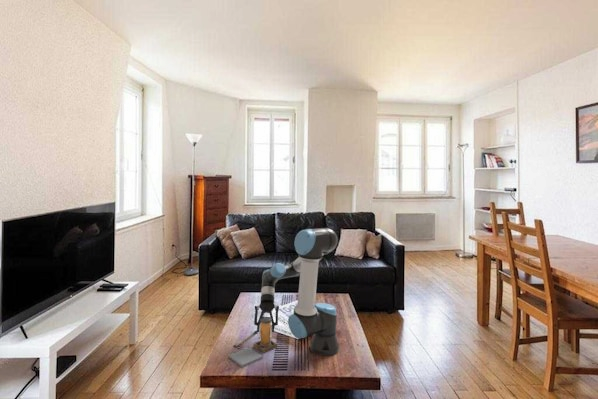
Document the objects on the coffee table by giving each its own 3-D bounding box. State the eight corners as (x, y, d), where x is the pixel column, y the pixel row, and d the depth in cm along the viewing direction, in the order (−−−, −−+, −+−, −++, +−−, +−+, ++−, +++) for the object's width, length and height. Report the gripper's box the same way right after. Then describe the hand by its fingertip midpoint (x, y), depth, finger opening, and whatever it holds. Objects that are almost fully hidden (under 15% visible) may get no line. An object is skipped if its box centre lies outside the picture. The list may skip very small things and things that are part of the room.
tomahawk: (242, 352, 168) (242, 350, 168) (232, 347, 171) (232, 345, 171) (265, 335, 186) (265, 333, 186) (255, 331, 189) (255, 329, 189)
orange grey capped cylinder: (273, 345, 171) (273, 319, 171) (264, 349, 167) (264, 322, 167) (266, 341, 176) (266, 315, 175) (257, 344, 171) (257, 318, 171)
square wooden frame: (277, 347, 171) (277, 343, 171) (264, 352, 165) (264, 349, 165) (266, 341, 178) (266, 337, 178) (253, 346, 172) (253, 343, 172)
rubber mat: (262, 358, 160) (262, 356, 160) (242, 367, 152) (242, 365, 152) (248, 349, 169) (248, 347, 169) (228, 357, 160) (228, 355, 160)
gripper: (283, 299, 186) (282, 341, 171) (251, 299, 186) (248, 341, 170) (283, 293, 181) (282, 335, 165) (250, 293, 180) (246, 335, 164)
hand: (265, 338), depth 168 cm, fingers closed on orange grey capped cylinder, 5 cm apart
